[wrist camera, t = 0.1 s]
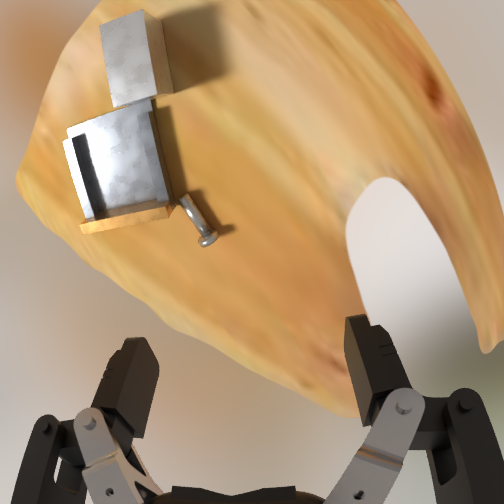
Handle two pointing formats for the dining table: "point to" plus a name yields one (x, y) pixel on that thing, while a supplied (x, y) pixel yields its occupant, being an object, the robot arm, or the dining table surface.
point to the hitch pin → (198, 221)
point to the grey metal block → (136, 59)
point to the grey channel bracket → (119, 169)
